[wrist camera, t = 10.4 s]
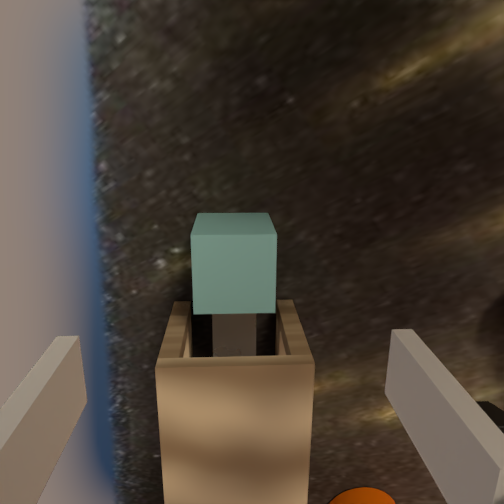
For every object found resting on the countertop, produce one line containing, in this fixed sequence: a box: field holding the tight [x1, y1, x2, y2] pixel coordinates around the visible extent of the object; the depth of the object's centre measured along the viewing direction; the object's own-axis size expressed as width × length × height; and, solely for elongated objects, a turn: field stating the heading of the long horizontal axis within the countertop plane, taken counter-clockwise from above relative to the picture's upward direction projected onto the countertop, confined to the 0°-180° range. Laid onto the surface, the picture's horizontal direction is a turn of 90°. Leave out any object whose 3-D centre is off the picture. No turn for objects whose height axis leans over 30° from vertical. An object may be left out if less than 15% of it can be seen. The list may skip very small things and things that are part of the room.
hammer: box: [212, 313, 256, 357], centre depth 30 cm, size 18×3×9 cm, turn 0°
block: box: [191, 213, 277, 314], centre depth 28 cm, size 5×5×6 cm
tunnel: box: [155, 299, 315, 504], centre depth 30 cm, size 12×9×9 cm
